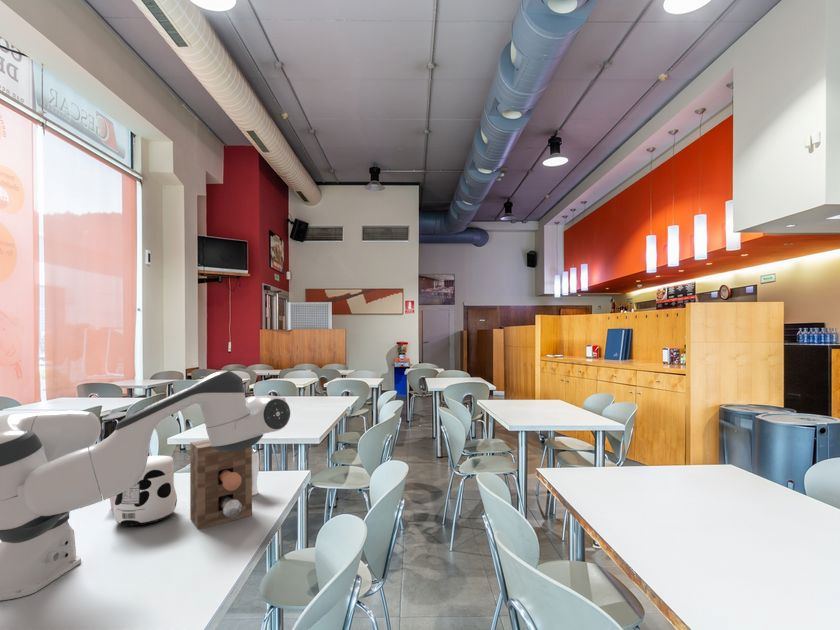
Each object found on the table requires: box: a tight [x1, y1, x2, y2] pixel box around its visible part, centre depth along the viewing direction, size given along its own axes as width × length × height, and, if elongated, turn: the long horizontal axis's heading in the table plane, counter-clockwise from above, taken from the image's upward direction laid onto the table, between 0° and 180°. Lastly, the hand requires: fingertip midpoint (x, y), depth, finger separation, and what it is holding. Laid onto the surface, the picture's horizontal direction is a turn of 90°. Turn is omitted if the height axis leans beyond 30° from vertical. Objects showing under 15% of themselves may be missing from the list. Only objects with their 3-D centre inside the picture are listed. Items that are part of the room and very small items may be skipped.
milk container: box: [112, 455, 178, 527], centre depth 147 cm, size 17×17×18 cm
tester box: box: [189, 439, 253, 530], centre depth 147 cm, size 10×16×24 cm, turn 128°
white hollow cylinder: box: [252, 449, 260, 497], centre depth 168 cm, size 7×7×15 cm
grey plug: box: [218, 495, 242, 518], centre depth 141 cm, size 8×5×5 cm, turn 38°
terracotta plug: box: [218, 469, 242, 491], centre depth 141 cm, size 8×5×5 cm, turn 38°
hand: (237, 412), depth 130 cm, fingers open, 8 cm apart
